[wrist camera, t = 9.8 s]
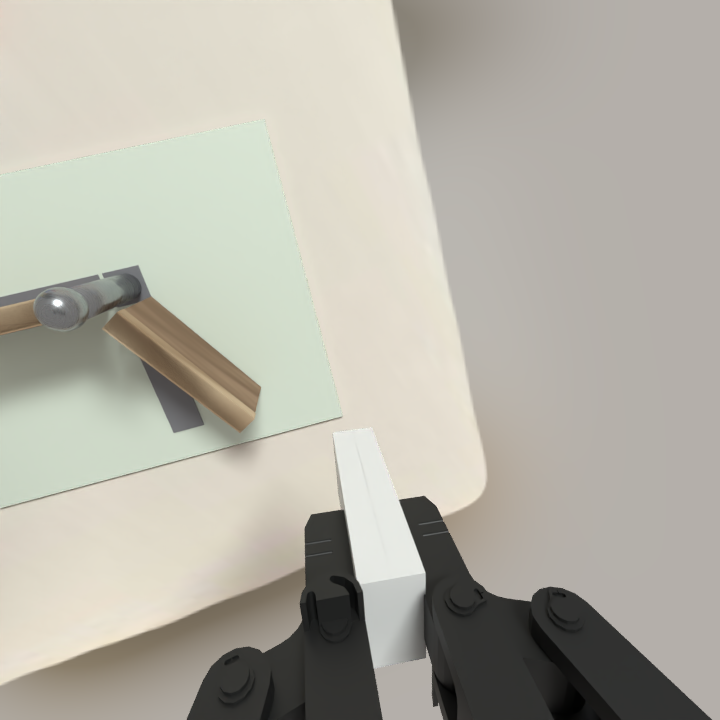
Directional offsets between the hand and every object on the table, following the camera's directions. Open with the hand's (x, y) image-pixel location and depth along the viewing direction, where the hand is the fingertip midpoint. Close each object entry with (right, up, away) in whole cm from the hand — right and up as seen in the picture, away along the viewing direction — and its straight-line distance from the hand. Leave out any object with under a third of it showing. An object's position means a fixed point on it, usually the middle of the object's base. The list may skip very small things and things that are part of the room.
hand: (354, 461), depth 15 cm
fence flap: (-11, +5, +14) cm, 18 cm away
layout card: (-17, +6, +13) cm, 22 cm away
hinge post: (-16, +9, +12) cm, 22 cm away
